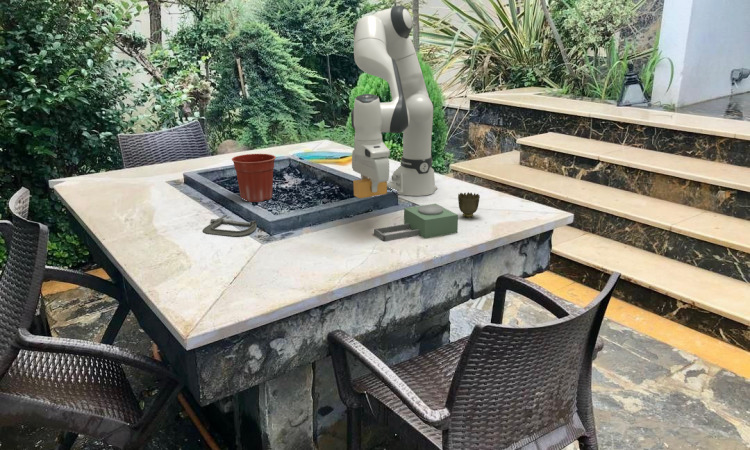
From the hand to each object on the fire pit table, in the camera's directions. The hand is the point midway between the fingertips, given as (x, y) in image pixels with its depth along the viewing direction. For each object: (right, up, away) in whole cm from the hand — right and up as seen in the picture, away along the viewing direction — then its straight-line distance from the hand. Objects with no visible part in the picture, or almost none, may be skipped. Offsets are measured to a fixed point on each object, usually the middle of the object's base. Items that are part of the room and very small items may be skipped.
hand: (370, 189), depth 186 cm
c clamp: (-46, -13, +6) cm, 48 cm away
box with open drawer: (+14, -14, 0) cm, 19 cm away
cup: (+34, -9, +14) cm, 38 cm away
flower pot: (-45, -1, +39) cm, 59 cm away
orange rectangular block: (0, -2, +1) cm, 2 cm away
